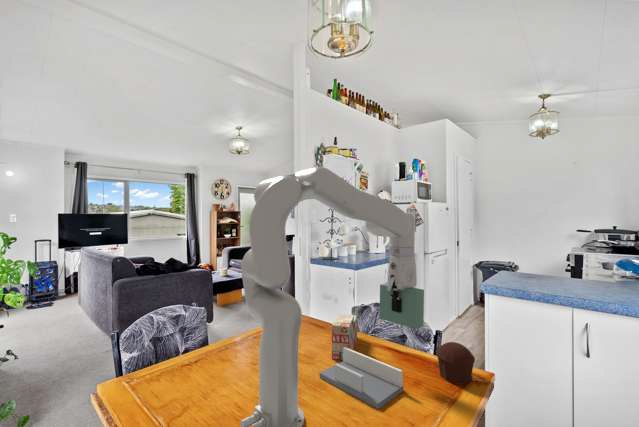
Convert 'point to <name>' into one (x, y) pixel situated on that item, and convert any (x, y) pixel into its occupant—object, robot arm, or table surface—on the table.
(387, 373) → the grey slotted holder
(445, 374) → the muffin
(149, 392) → the table surface
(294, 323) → the robot arm
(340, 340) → the printed carton
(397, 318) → the book
